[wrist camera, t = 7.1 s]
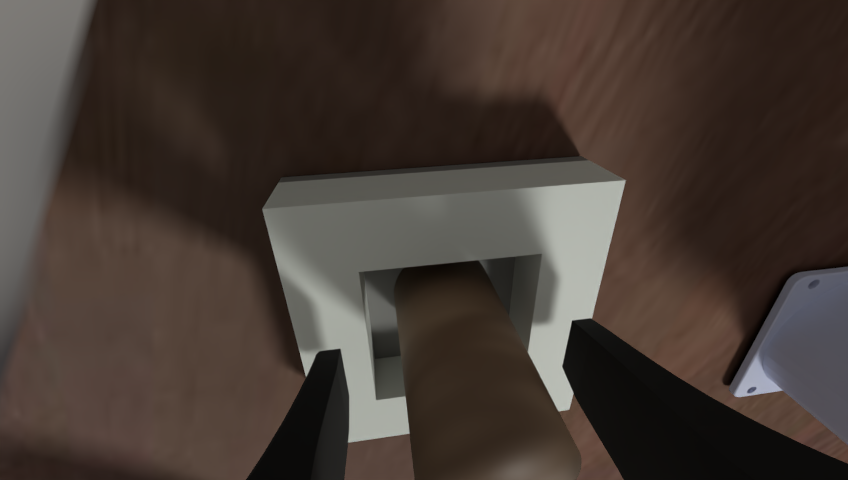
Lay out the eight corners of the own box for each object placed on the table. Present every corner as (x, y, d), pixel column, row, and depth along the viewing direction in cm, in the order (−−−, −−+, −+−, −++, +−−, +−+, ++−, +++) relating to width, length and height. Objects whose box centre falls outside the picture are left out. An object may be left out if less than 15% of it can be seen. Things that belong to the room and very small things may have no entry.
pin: (494, 248, 13) (602, 422, 7) (480, 324, 15) (558, 518, 9) (395, 248, 13) (423, 437, 7) (392, 328, 15) (412, 536, 8)
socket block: (580, 156, 13) (625, 180, 10) (544, 363, 17) (569, 409, 15) (281, 177, 12) (262, 209, 9) (329, 392, 16) (324, 446, 14)
